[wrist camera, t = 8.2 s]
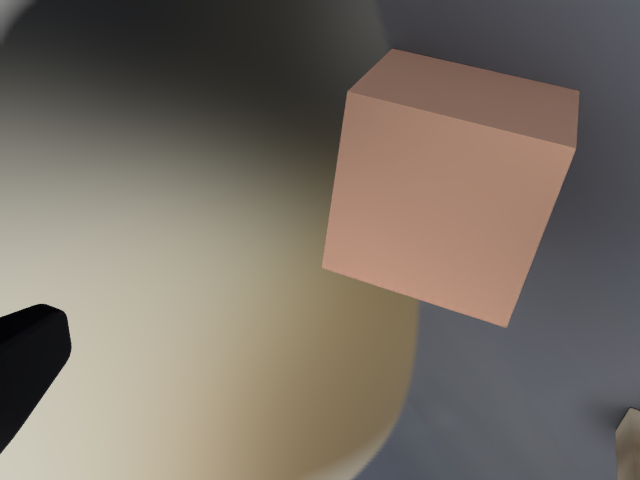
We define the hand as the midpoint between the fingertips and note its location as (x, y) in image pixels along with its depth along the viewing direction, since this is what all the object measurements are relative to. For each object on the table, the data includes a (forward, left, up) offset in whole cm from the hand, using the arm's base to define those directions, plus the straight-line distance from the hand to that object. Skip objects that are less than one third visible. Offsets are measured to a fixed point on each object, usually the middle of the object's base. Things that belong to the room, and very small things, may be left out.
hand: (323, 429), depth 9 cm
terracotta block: (0, 0, -11) cm, 11 cm away
